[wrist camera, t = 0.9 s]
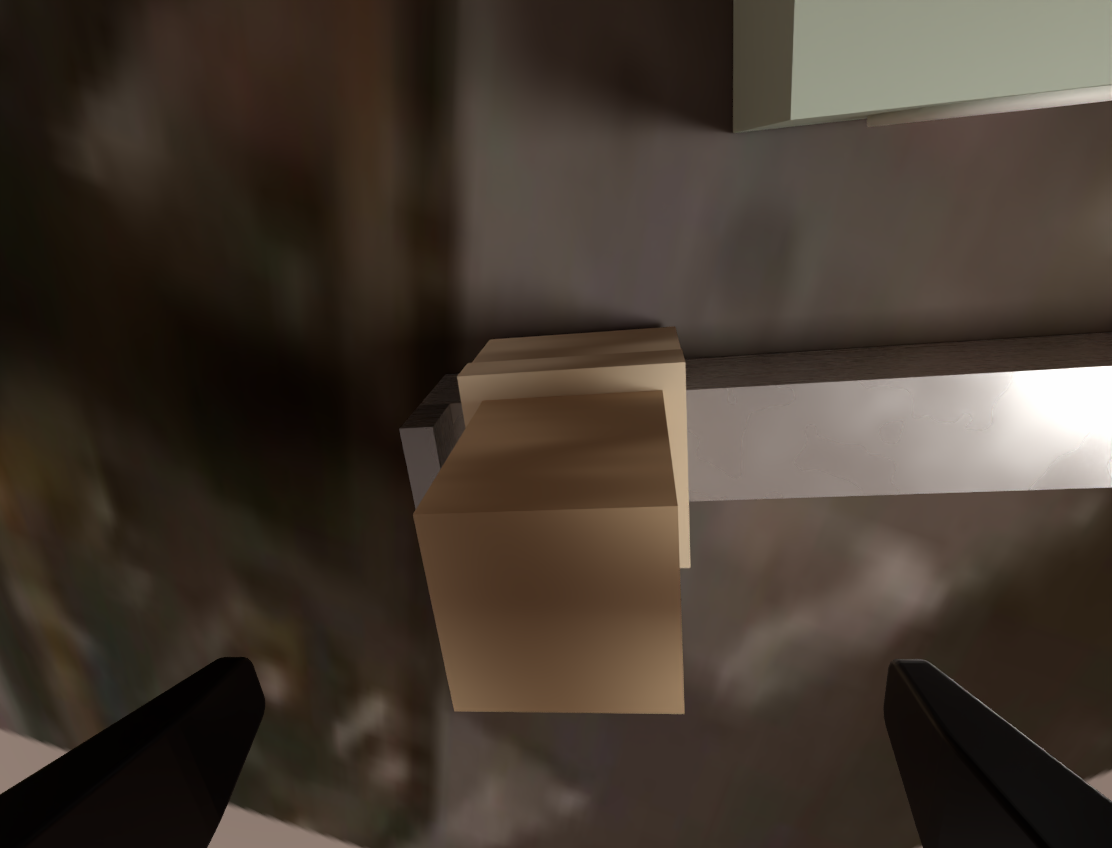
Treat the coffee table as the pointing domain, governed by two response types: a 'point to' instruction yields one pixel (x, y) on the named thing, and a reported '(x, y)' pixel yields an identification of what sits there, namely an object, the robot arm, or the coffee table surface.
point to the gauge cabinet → (914, 59)
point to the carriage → (564, 526)
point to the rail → (869, 420)
